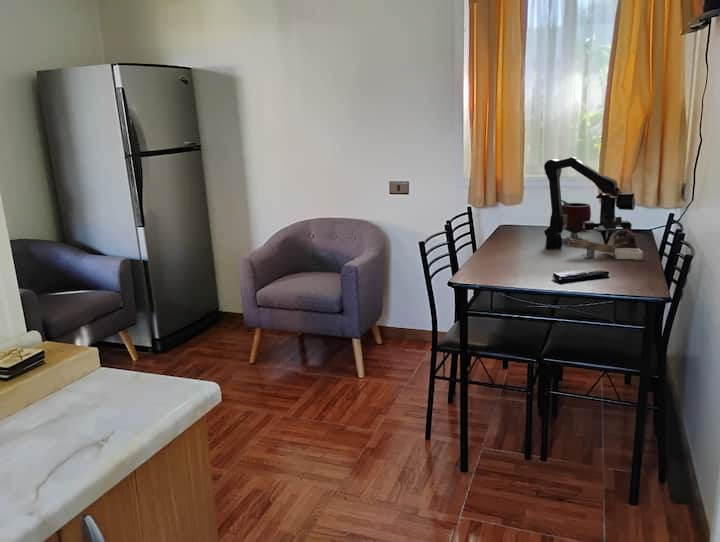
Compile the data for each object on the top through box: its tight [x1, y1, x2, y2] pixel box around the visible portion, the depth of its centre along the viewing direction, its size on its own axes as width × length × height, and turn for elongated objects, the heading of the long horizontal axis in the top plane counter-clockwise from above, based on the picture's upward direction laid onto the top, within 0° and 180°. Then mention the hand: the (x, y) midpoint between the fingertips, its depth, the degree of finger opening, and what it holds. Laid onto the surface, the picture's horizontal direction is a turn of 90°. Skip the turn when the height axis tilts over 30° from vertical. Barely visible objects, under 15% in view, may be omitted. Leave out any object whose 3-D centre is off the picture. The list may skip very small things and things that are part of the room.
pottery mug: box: [612, 229, 638, 247], centre depth 275 cm, size 12×10×8 cm
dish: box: [612, 247, 644, 261], centre depth 250 cm, size 10×7×3 cm
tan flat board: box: [567, 236, 616, 254], centre depth 257 cm, size 18×14×3 cm
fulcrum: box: [582, 247, 600, 260], centre depth 253 cm, size 5×8×5 cm, turn 169°
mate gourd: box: [561, 199, 592, 243], centre depth 288 cm, size 16×14×20 cm
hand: (605, 245), depth 261 cm, fingers closed, pressing on tan flat board
